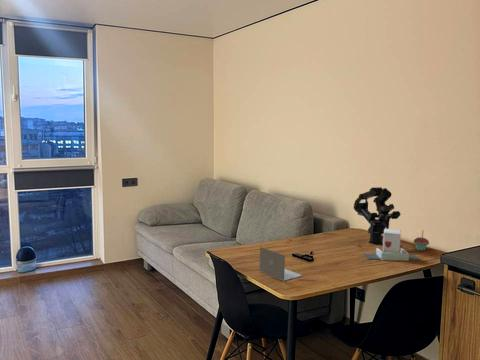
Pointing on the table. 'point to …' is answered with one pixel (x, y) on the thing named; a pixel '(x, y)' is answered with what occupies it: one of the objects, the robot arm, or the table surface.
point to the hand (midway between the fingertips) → (387, 228)
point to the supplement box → (391, 241)
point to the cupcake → (421, 243)
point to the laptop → (275, 265)
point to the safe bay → (392, 256)
